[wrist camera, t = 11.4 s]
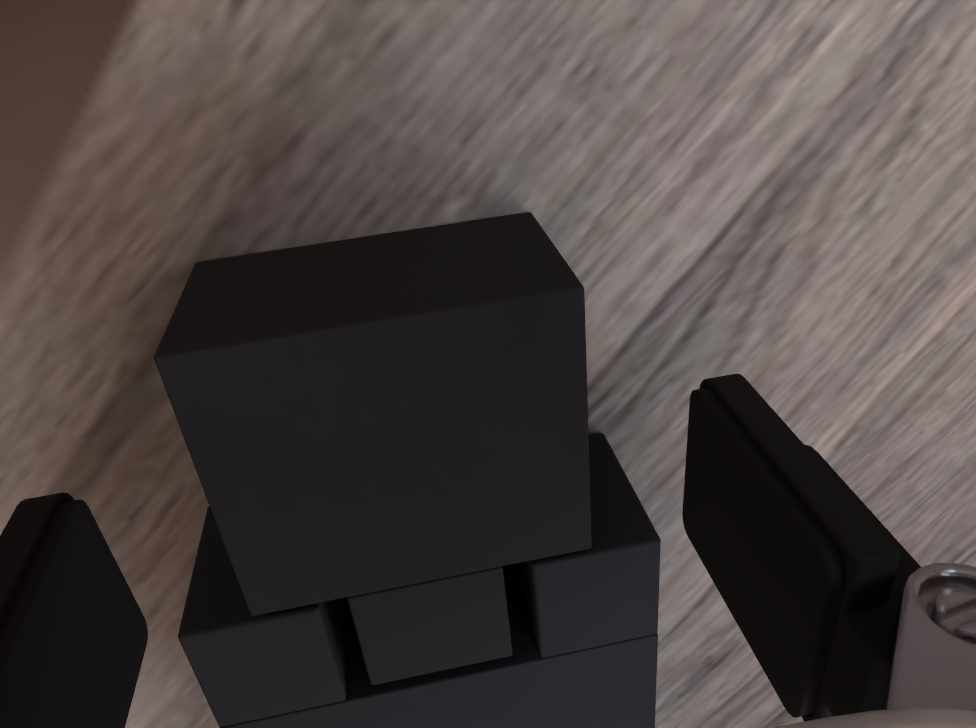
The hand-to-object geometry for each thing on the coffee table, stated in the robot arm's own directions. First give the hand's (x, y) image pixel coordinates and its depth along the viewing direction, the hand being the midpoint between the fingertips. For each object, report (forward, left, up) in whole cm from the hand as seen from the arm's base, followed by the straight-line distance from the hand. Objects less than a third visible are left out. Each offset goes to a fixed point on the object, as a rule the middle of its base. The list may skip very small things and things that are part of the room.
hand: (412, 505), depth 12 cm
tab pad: (+2, 0, -6) cm, 6 cm away
